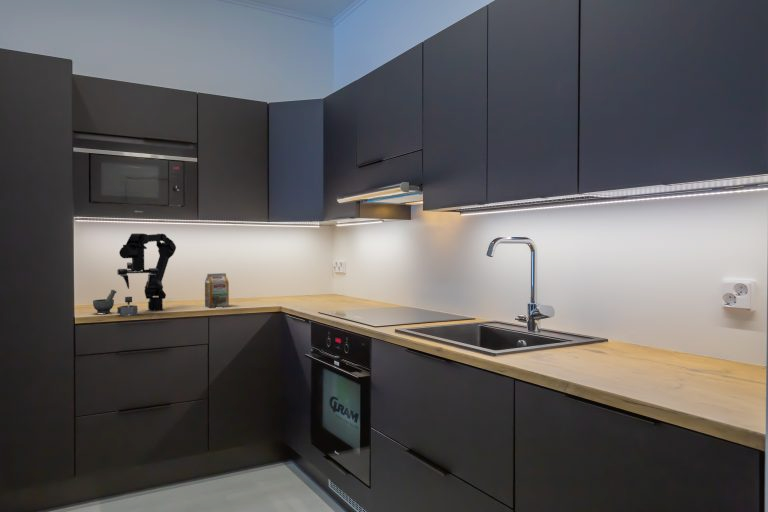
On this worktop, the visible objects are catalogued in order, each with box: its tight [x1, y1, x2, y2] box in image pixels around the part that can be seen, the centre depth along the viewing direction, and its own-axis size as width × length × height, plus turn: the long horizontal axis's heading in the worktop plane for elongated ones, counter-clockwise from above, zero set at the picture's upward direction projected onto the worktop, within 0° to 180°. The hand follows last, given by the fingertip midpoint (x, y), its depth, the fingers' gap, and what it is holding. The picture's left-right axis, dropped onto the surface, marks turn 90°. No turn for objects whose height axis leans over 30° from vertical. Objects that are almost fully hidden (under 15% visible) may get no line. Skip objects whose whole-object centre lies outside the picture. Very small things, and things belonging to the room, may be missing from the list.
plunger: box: [124, 296, 133, 307], centre depth 261 cm, size 5×5×9 cm
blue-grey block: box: [116, 304, 139, 317], centre depth 261 cm, size 9×8×4 cm
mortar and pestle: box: [92, 289, 117, 314], centre depth 267 cm, size 11×9×12 cm
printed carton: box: [204, 272, 230, 309], centre depth 296 cm, size 11×11×19 cm
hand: (138, 288), depth 266 cm, fingers open, 9 cm apart
